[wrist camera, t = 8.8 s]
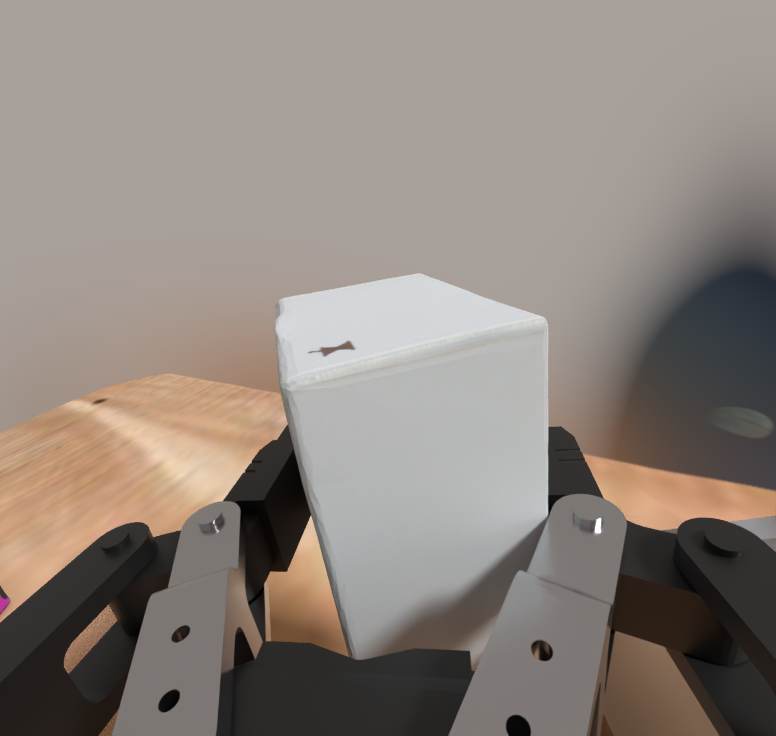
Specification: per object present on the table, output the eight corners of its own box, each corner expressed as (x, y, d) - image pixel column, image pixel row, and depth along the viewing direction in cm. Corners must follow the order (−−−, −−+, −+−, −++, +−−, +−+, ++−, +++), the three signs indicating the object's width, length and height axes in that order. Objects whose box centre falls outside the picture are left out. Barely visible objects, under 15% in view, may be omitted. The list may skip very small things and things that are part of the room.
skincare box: (555, 770, 11) (564, 316, 6) (395, 844, 10) (265, 386, 5) (457, 579, 16) (423, 268, 12) (350, 617, 15) (267, 297, 11)
